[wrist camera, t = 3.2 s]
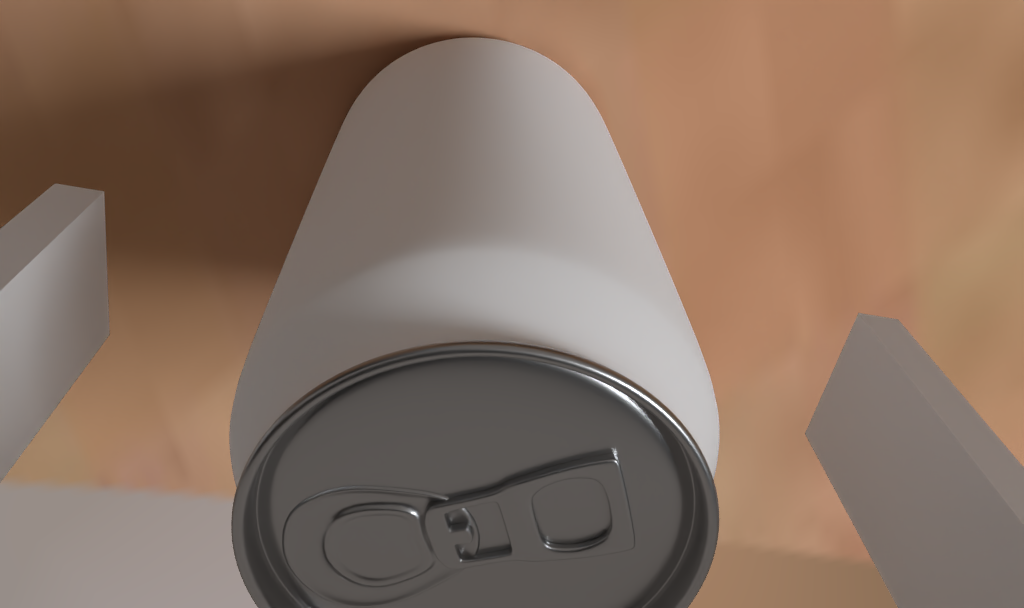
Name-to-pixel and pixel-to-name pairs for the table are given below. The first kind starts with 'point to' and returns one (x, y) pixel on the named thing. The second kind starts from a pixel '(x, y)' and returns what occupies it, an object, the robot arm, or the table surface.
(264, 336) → the can
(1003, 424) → the table surface
